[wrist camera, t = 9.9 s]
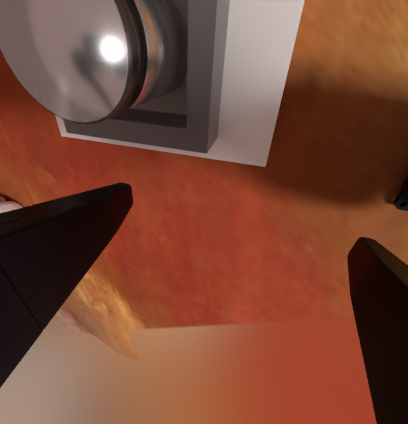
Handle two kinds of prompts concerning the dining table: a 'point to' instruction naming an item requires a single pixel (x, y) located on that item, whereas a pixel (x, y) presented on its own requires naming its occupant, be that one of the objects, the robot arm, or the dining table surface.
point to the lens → (94, 53)
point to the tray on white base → (215, 86)
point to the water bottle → (8, 205)
